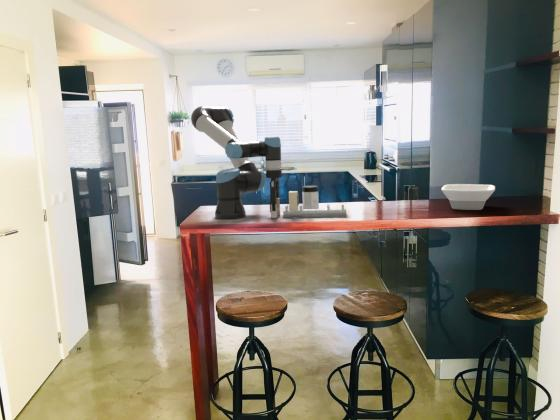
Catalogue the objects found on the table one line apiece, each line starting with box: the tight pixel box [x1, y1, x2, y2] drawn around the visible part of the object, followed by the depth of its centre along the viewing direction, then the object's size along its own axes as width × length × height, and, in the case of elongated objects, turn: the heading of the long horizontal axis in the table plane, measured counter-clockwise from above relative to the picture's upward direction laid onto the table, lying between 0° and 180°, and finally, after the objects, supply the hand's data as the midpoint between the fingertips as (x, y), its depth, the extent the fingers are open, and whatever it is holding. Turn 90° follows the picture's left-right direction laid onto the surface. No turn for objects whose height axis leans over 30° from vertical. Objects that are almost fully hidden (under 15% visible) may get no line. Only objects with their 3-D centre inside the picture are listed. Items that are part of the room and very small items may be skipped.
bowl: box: [440, 183, 496, 211], centre depth 227 cm, size 24×25×10 cm
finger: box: [269, 198, 281, 218], centre depth 223 cm, size 4×4×9 cm
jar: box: [301, 185, 320, 209], centre depth 241 cm, size 9×8×12 cm
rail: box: [282, 190, 348, 219], centre depth 220 cm, size 30×9×12 cm, turn 83°
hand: (275, 215), depth 223 cm, fingers open, 9 cm apart
